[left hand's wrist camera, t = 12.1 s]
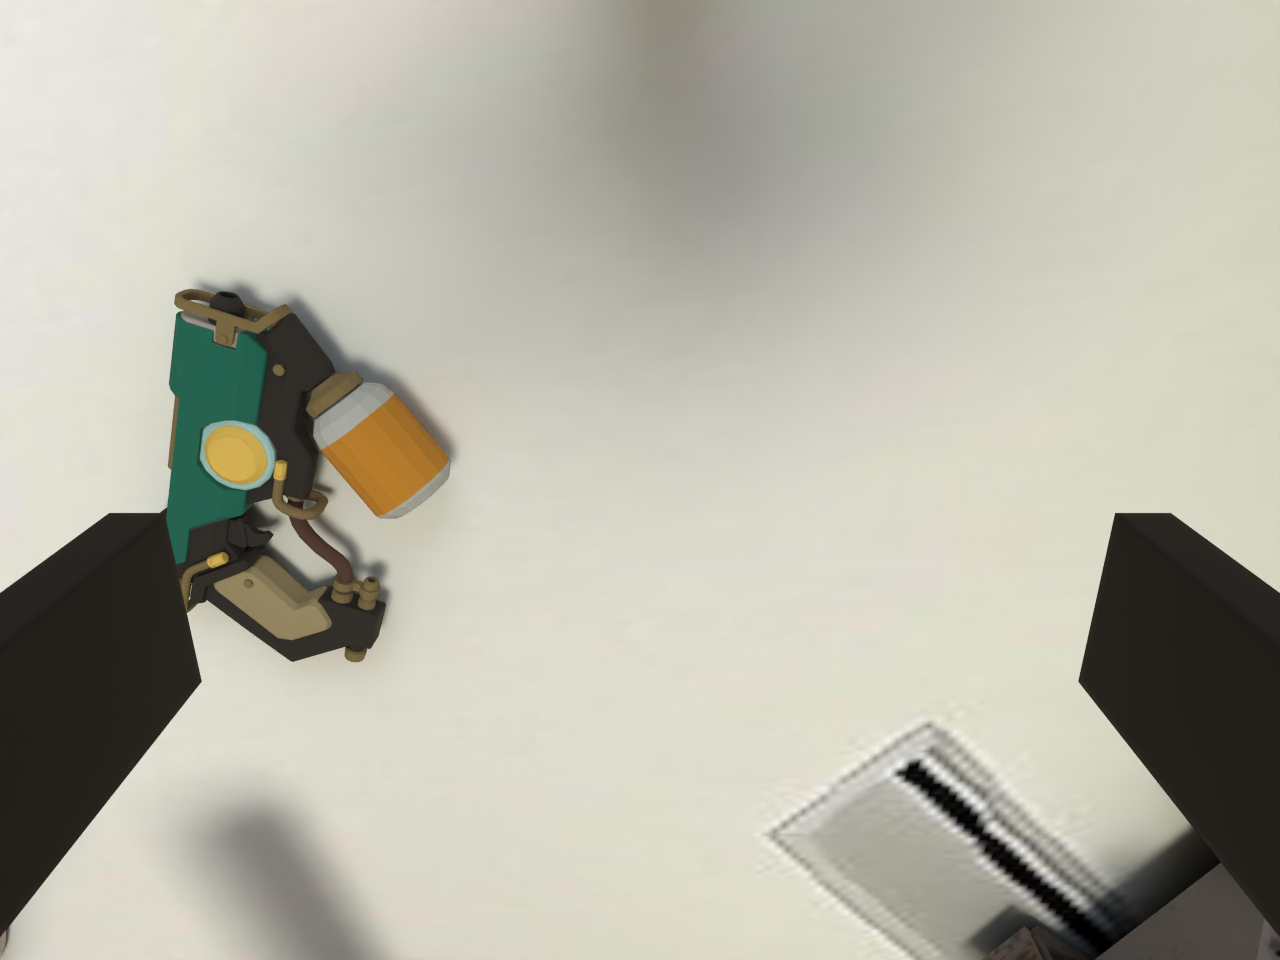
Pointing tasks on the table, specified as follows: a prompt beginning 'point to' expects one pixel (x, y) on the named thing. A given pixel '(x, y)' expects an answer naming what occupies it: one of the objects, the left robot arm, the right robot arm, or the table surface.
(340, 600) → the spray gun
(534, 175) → the table surface
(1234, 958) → the toy
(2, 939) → the bust sculpture
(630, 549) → the table surface
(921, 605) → the table surface
